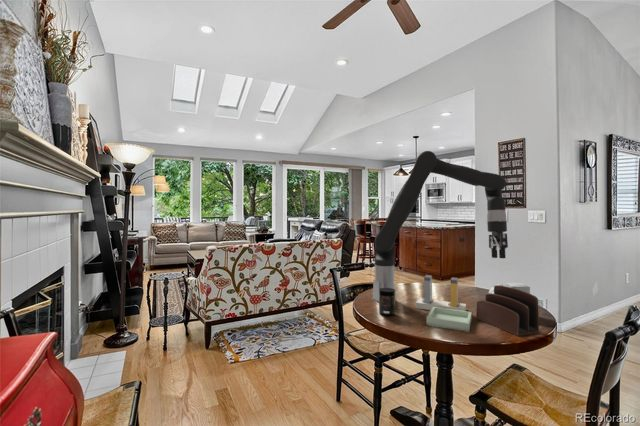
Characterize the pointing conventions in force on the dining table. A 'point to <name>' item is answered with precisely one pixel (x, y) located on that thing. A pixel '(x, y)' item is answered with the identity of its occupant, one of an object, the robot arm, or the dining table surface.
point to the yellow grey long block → (454, 292)
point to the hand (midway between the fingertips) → (498, 258)
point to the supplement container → (387, 301)
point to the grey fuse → (428, 289)
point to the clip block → (438, 305)
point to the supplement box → (519, 286)
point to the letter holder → (510, 310)
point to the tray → (449, 319)
